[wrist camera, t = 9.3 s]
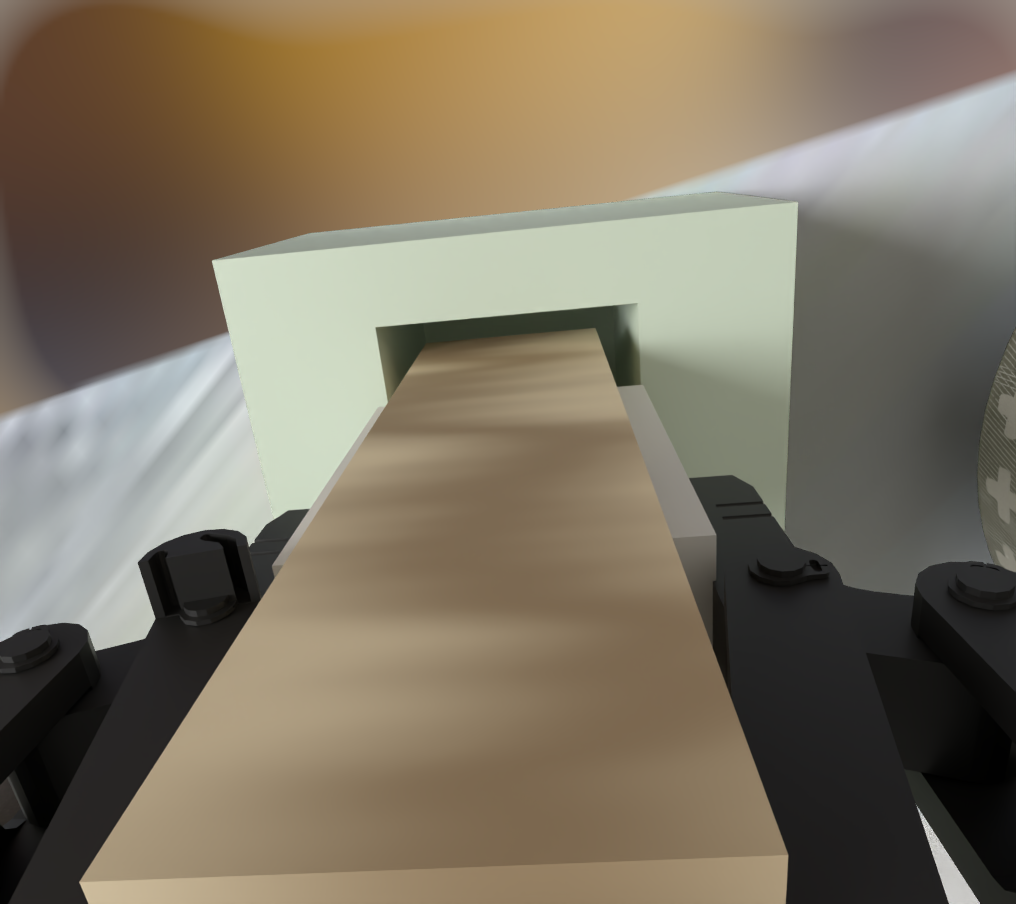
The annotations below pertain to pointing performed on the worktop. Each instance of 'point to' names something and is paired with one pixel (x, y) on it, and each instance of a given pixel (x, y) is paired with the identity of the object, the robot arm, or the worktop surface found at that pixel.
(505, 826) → the peg
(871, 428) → the worktop surface
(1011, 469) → the planter
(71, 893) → the robot arm
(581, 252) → the socket station
